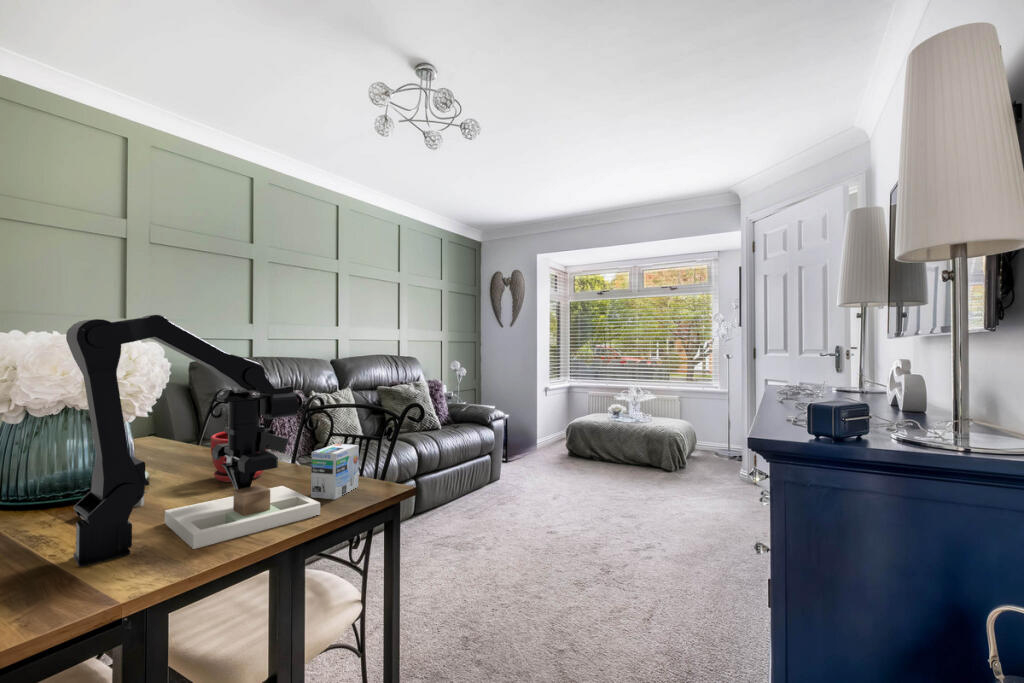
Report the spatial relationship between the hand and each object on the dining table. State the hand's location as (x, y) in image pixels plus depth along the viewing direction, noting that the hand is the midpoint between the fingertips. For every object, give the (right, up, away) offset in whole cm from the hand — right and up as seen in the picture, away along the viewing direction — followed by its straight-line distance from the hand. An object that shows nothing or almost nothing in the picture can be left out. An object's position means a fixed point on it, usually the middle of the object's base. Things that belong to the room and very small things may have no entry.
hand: (243, 498), depth 98 cm
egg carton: (-29, -4, +3) cm, 30 cm away
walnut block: (+3, -2, -3) cm, 4 cm away
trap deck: (+1, -4, -1) cm, 4 cm away
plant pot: (-17, -4, +29) cm, 34 cm away
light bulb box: (+13, -5, +18) cm, 22 cm away
